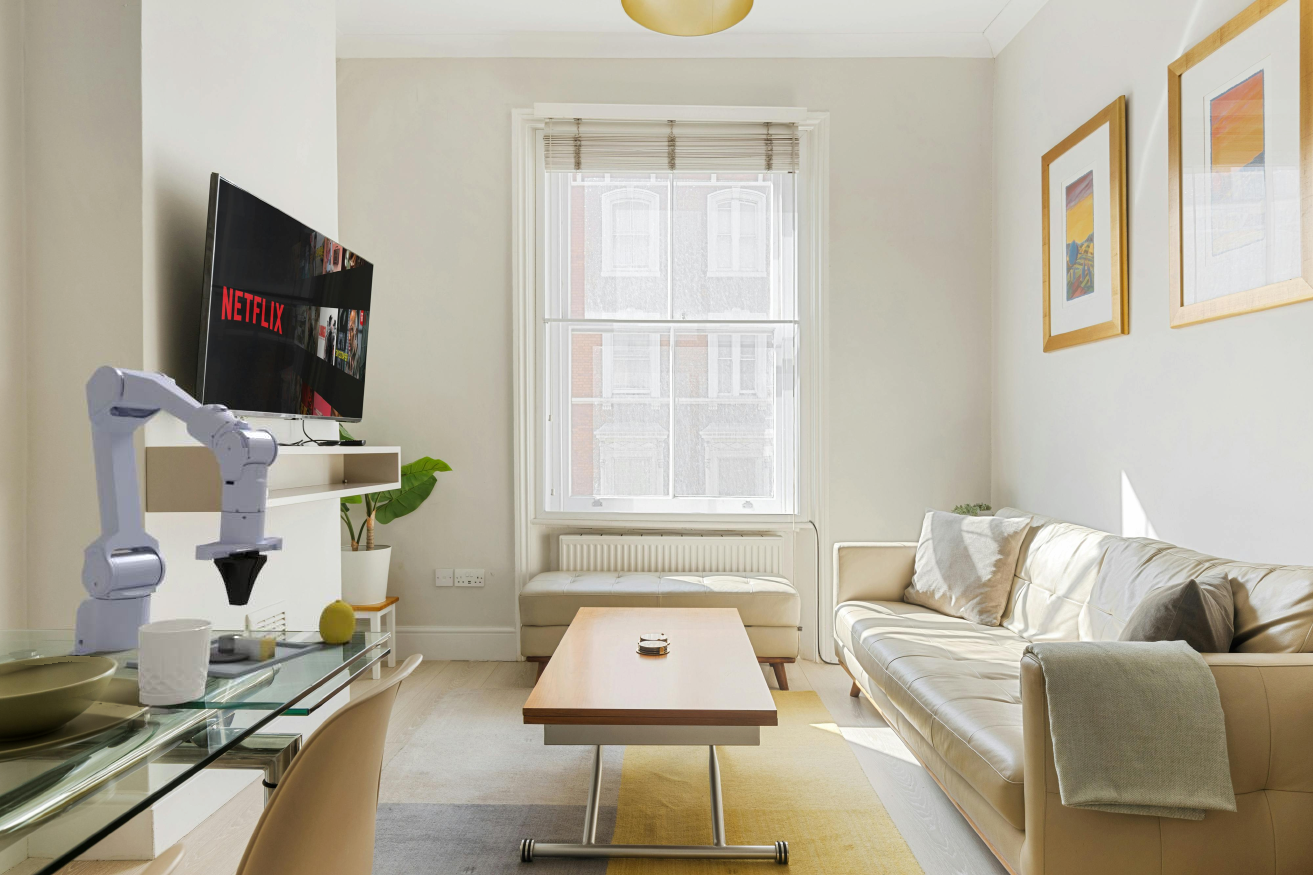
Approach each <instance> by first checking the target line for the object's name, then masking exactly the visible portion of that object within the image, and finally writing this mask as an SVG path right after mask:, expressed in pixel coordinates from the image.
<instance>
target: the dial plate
mask: <svg viewBox="0 0 1313 875" xmlns="http://www.w3.org/2000/svg"><path fill="white" fill-rule="evenodd" d="M216 646H218V637H214V638H211V646H210V648H211V647H216ZM322 649H323V644H320V643H319V644H317V643H310V642H309V643H308V642H300V641H299V642H298V641H297V642H296V641H288V640H277V639H276V646H275V658H273V659H270V660H267V661H258V660H248V659H246V660H241V661H233V662H209V666H208V672H207V677H215V678H216V677H218V678H225V679H238V678H241V677H243V676H246V675H249V674H253V673H255V672H259V671H261V670H265V669H267V668H270V667H273V666H276V665H280V664H281V663H285V662H287V661H291V660H293V659H296V658H299V657H302V656H305V655H308V654H310V653H314V652H317V651H319V650H322ZM125 665H126V667H129V668H135V669H138V658H136V659H131V660H128V661H126V664H125Z"/></svg>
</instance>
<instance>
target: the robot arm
mask: <svg viewBox="0 0 1313 875" xmlns="http://www.w3.org/2000/svg"><path fill="white" fill-rule="evenodd" d="M85 392H86V402H87V404H86V405H87V412H88V413H87V414H88V421H90V422H91V423H90V425H91V426H90V427H91V438H92V448H93V450H92V451H93V458H94V469H95V480H96V488H97V489H96V490H97V500H98V509H99V511H98V512H99V519H100V520H99V522H100V531H101V535H99V537H98V538H96V539H95V540H94V541H93V542H92V543H90V544H89V545H87V546H86V547H85V549H84V550H83V552H84V553H83V555H84V563H83V566H82V569H81V583H82V587H84V589H85V591H86V592H87V593H88V595H89V596H87V597H86V598H84V599H83V600H82V602H80V604H79V607H78V608H77V611H76V618H75V633H74V634H75V635H74V649H73V650H70V651H69V652H68V654H69V655H70V656H75V655H80V656H84V655H87V654H93V653H96V652H97V653H98V652H120V651H129V650H136V649H138V628H139V627H140V626H142V625H144V624H148V623H151V621H150V620H151V605H152V604H151V603H152V594H154V593H157V587H159V586H160V585H161V584H162V582H163V581H164V578H165V576H166V570H167V568H166V567H167V566H166V561H165V559H164V557H163V555H162V554H161V550H160V543H159V541H158V539H157V538H155V537H154V536H152V535H151V534H149V533H148V532H147V531H145V530H144V525H143V518H142V517H143V515H142V507H141V498H140V496H141V495H140V489H139V488H140V487H139V478H138V477H139V476H138V468H137V457H136V449H135V448H136V446H135V439H134V438H135V435H134V434H135V432H136V430H137V429H138V428H139V427H141V426H144V425H145V424H148V422H150V421H151V420H152V419H154V418H155V417H156V416H157V415H158V414H159V413H161V412H163V411H164V412H166V413H167V414H169V415H171V416H172V417H174V418H177V419H178V420H180V421H182V422H183V423H185V424H186V431H187V433H188V435H189V436H190V437H192V438H194V439H195V440H196V441H198V442H199V443H200V444H202V445H204V446H205V447H206V448H208V449H210V450H211V451H212V452H214V456H215V460H216V462H217V463H218V466H219V476H220V478H221V480H222V493H221V494H222V495H221V496H222V497H221V509H220V510H221V511H220V527H219V530H220V531H219V540H218V541H213V542H209V543H206V544H200V545H196V546H195V557H194V559H195V560H197V561H212V560H213V564H214V565H215V567H216V568H217V570H218V573H219V574H220V576H221V579H222V580H223V584H224V588H225V591H226V595H227V600H228V604H229V606H235V607H236V606H238V607H242V606H246V605H248V603H249V600H250V598H251V594H252V591H253V589H254V586H255V583H256V580H257V578H258V577H259V574H260V573H261V570H262V569H263V568H264V566H265V564H266V563H267V562H268V555H267V554H260V553H263V552H272V551H275V552H277V551H278V552H279V551H282V550H283V537H277V536H275V537H274V536H268V537H265V523H266V521H265V520H266V507H267V506H266V504H267V489H268V488H267V487H268V469H269V467H271V466H272V465H273V464H274V463H275V461H276V460H277V457H278V452H279V445H278V442H277V439H276V437H275V436H274V435H273V434H272V433H271V432H270V431H269V430H267V429H262V428H260V429H255V430H254V429H252V428H251V427H250V426H249V422H247V421H245V420H244V419H238V418H237V417H235V416H233V415H232V414H230V413H229V412H228V409H229V408H228V407H227V406H225V405H223V404H218V403H217V404H216V403H214V404H212V403H211V404H204V405H203V404H202V403H200V402H199V401H197V400H196V399H195V398H194V397H192V396H191V395H190V394H189V393H187V392H186V391H184V390H183V389H182V388H181V387H180V386H178V385H176V380H175V379H174V378H172V377H169V376H168V375H166V374H165V373H163V372H159V371H155V372H151V371H144V370H137V369H129V368H121V367H115V366H111V365H103V366H100V367H98V368H97V369H96V370H95V371H94V372H93V374H92V375H91V377H90V378H89V380H88V381H87V383H86V384H85ZM119 551H127V552H119ZM114 552H118V553H114Z"/></svg>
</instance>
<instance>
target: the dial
mask: <svg viewBox="0 0 1313 875" xmlns="http://www.w3.org/2000/svg"><path fill="white" fill-rule="evenodd" d="M217 638H218V646H216V647H211V648H210V657H209V662H233V661H241V660H246V659H248V660H258V661H267V660H270V659H273V658H275V646H276V640H277V639H276V638H275V637H257V636H248V635H244V634H239V633H230V634H224V635H223V634H222V635H219V636H218V637H217Z"/></svg>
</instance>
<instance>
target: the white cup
mask: <svg viewBox="0 0 1313 875" xmlns="http://www.w3.org/2000/svg"><path fill="white" fill-rule="evenodd" d="M213 625H214V623H213V621H211V620H207V619H201V618H200V619H199V618H180V619H179V618H177V619H165V620H159V621H153V622H150V623H148V624H144V625H142V626H140V627H139V628H138V648H137V659H138V668H137V671H138V680H137V681H138V682H137V683H138V684H137V685H138V688H139V692H138V693H139V695H138V696H139V697H138V698H139V700H138V701H139V703H141V704H143V705H147V704H148V706H150V707H151V706H171V705H178V704H185V703H188V702H193V701H195V700H199V698H202V697H203V696H204V695H205V688H206V682H207V680H208V676H207V672H208V666H209V657H210V646H211V639H212V633H213ZM184 712H185V711H184V710H176V709H167V708H159V707H151V708H150V710H149V713H150V714H149V715H154V714H157V715H171V714H178V713H179V714H180V713H184Z"/></svg>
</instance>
